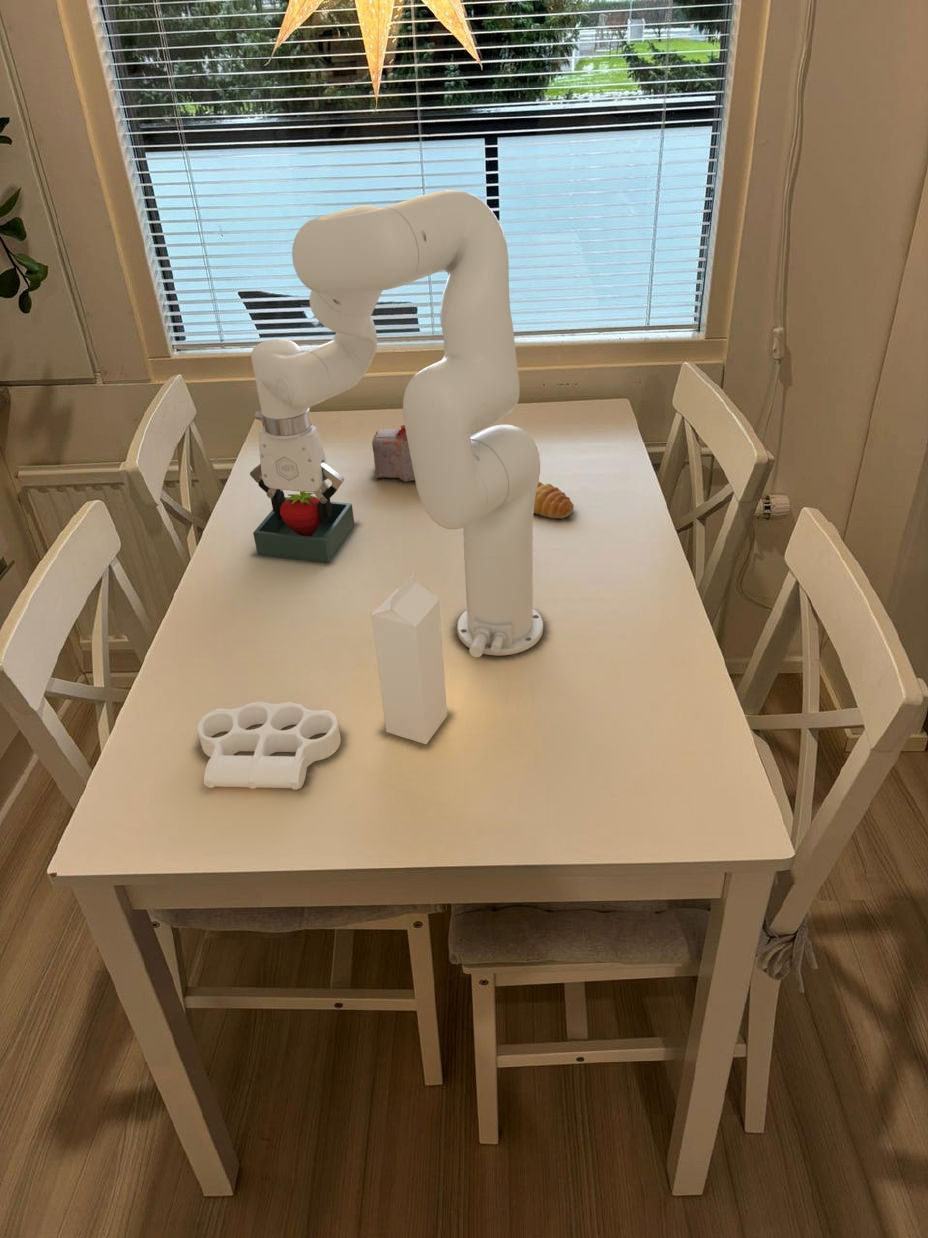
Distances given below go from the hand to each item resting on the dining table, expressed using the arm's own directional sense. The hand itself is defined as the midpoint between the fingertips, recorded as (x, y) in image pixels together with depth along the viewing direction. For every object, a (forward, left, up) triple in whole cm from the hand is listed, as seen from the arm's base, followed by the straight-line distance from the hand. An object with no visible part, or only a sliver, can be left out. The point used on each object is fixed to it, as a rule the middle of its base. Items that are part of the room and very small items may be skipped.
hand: (303, 517), depth 157 cm
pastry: (+18, -39, -5) cm, 43 cm away
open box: (0, 0, -4) cm, 4 cm away
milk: (-41, -33, -5) cm, 52 cm away
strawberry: (0, 0, -4) cm, 4 cm away
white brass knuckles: (-50, -16, -5) cm, 52 cm away
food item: (+26, -11, -5) cm, 29 cm away
